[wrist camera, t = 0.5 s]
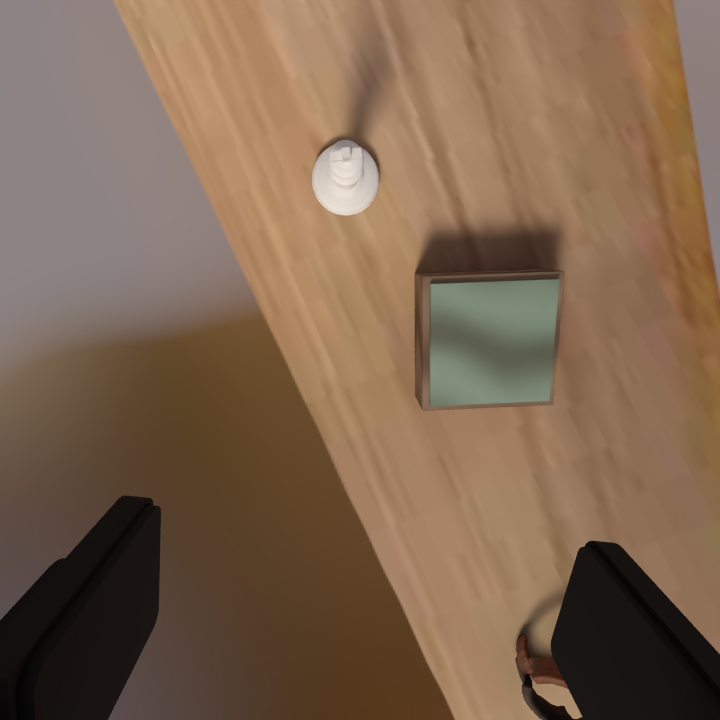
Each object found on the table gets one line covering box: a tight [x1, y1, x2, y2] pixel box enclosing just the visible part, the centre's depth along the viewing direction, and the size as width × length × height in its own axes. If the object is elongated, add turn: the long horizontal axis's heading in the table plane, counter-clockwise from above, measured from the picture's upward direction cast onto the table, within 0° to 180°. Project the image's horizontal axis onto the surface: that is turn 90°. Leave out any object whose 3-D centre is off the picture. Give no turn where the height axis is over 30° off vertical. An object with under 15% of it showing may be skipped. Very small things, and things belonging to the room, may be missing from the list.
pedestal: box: [415, 269, 564, 411], centre depth 33 cm, size 10×10×4 cm
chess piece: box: [312, 140, 379, 215], centre depth 27 cm, size 5×5×10 cm
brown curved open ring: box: [516, 635, 584, 720], centre depth 41 cm, size 12×10×8 cm
